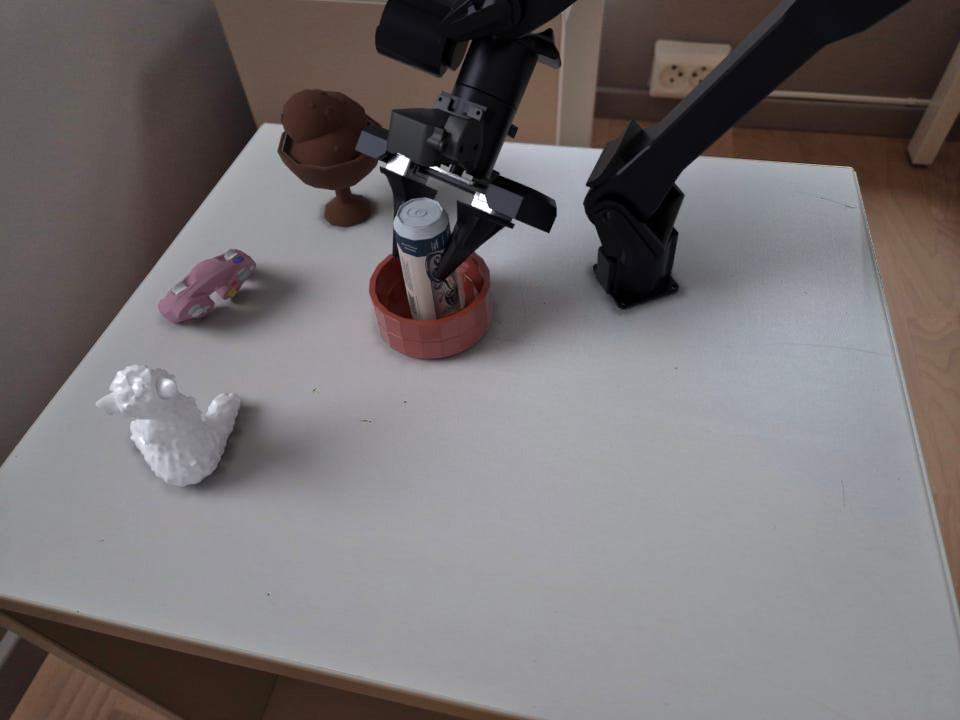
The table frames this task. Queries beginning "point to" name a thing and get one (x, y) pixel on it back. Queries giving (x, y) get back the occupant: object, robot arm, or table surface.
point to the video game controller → (207, 285)
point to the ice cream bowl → (328, 149)
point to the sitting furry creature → (171, 423)
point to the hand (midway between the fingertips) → (417, 268)
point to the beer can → (425, 259)
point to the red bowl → (431, 334)
